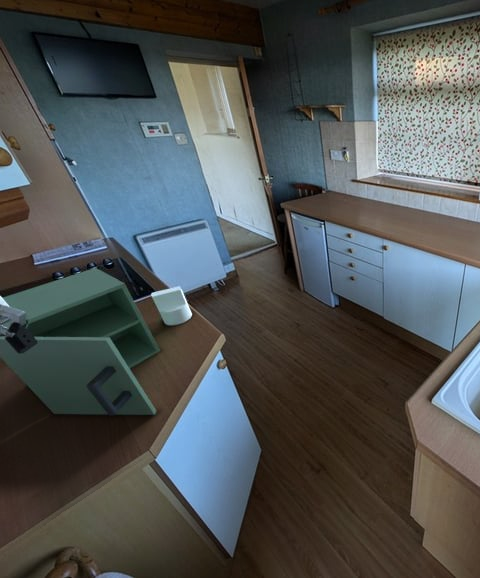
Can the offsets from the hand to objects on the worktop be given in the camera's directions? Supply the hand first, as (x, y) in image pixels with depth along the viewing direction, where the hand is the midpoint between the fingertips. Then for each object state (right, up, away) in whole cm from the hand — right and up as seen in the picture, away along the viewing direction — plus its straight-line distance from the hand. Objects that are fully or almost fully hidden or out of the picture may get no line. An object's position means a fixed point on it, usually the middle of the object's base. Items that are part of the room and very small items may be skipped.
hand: (2, 348), depth 56 cm
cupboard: (-15, -12, +34) cm, 39 cm away
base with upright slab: (-5, 0, +55) cm, 56 cm away
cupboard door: (0, -23, +18) cm, 29 cm away
